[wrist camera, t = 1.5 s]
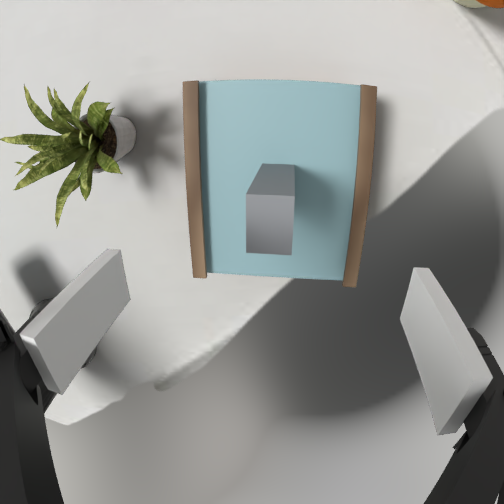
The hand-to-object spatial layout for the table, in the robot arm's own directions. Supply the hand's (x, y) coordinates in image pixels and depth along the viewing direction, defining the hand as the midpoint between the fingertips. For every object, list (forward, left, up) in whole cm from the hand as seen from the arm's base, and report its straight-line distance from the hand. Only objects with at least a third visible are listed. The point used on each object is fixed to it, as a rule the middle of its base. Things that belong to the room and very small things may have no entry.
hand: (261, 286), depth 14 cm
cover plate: (0, 0, -19) cm, 19 cm away
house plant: (-20, +6, -26) cm, 33 cm away
